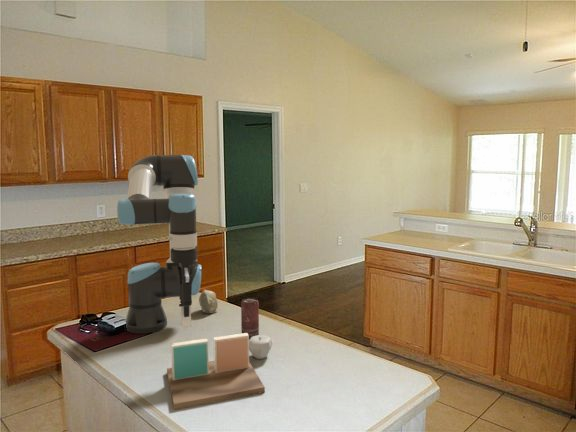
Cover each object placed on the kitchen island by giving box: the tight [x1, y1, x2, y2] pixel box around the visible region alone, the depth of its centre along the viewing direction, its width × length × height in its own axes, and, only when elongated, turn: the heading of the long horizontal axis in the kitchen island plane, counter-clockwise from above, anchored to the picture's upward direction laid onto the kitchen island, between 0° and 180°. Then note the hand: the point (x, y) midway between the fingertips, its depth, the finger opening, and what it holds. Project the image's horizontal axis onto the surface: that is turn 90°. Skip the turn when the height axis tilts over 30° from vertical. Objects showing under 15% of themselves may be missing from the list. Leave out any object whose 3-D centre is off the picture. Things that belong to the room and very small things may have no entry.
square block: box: [170, 338, 209, 380], centre depth 125 cm, size 2×10×10 cm, turn 110°
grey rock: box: [198, 289, 218, 314], centre depth 181 cm, size 9×8×10 cm
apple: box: [249, 334, 273, 360], centre depth 141 cm, size 8×8×7 cm
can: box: [240, 297, 260, 340], centre depth 154 cm, size 6×6×14 cm
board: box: [166, 360, 266, 410], centre depth 125 cm, size 20×24×2 cm
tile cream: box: [213, 332, 250, 373], centre depth 129 cm, size 2×10×10 cm, turn 110°
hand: (186, 325), depth 130 cm, fingers closed
